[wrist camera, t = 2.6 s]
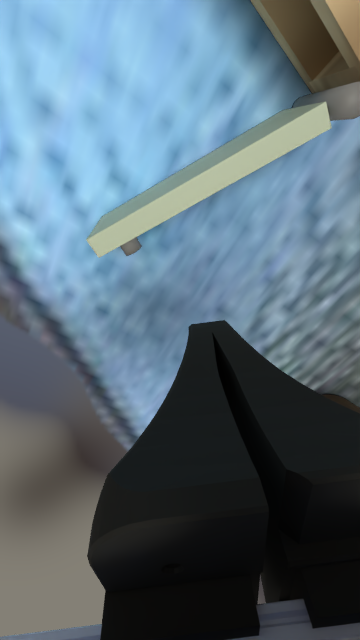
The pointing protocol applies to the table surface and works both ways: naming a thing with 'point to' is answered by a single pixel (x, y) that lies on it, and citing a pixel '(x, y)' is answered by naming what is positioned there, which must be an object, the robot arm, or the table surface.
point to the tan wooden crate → (317, 38)
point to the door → (224, 167)
